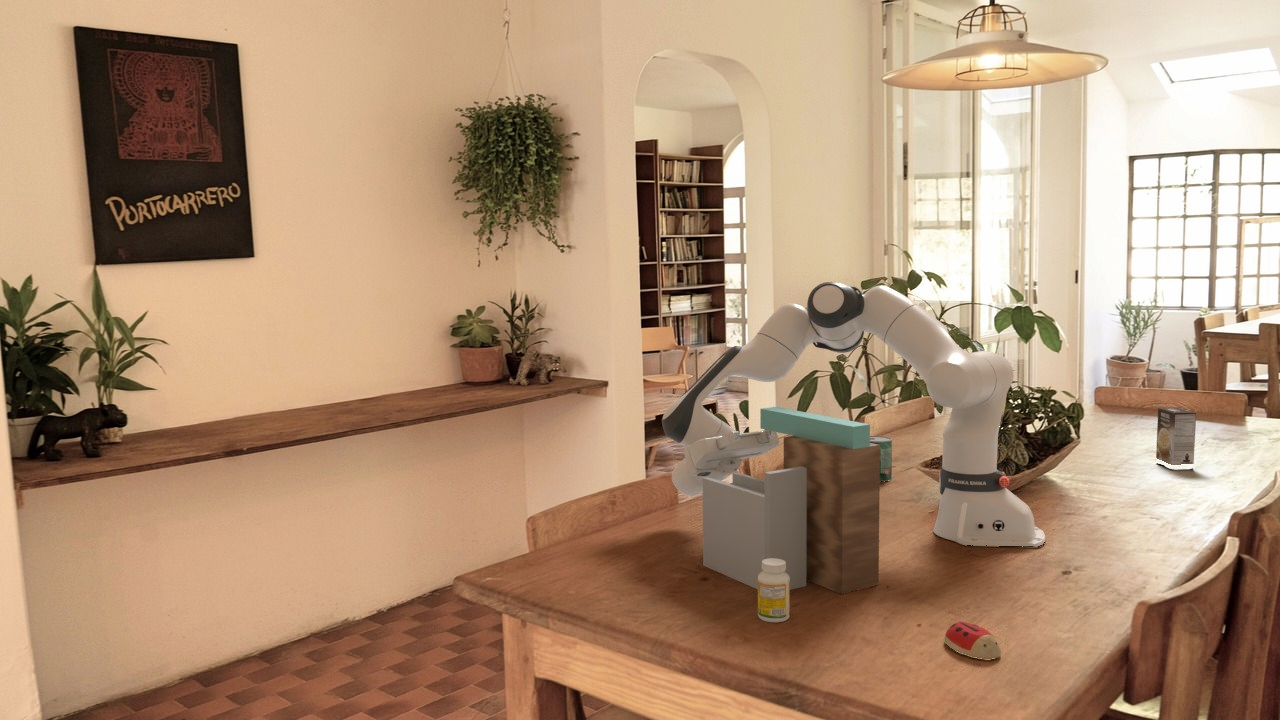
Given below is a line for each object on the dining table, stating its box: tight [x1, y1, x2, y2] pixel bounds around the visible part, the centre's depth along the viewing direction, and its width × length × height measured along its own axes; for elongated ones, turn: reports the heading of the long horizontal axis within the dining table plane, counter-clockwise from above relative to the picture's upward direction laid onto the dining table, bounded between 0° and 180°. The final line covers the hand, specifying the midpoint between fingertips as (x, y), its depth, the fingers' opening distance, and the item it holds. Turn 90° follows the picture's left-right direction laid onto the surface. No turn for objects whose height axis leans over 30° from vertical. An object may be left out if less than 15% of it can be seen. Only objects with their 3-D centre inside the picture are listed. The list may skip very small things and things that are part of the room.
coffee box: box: [1155, 406, 1197, 465], centre depth 273 cm, size 9×6×16 cm
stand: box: [783, 435, 881, 595], centre depth 184 cm, size 16×9×26 cm, turn 32°
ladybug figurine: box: [943, 621, 1002, 659], centre depth 151 cm, size 7×10×4 cm
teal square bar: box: [759, 406, 871, 449], centre depth 187 cm, size 26×4×4 cm, turn 32°
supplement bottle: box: [757, 558, 791, 623], centre depth 165 cm, size 5×5×10 cm
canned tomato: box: [870, 435, 893, 483], centre depth 265 cm, size 8×8×11 cm
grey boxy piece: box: [702, 467, 807, 591], centre depth 186 cm, size 20×8×22 cm, turn 32°
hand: (755, 432), depth 201 cm, fingers open, 8 cm apart
